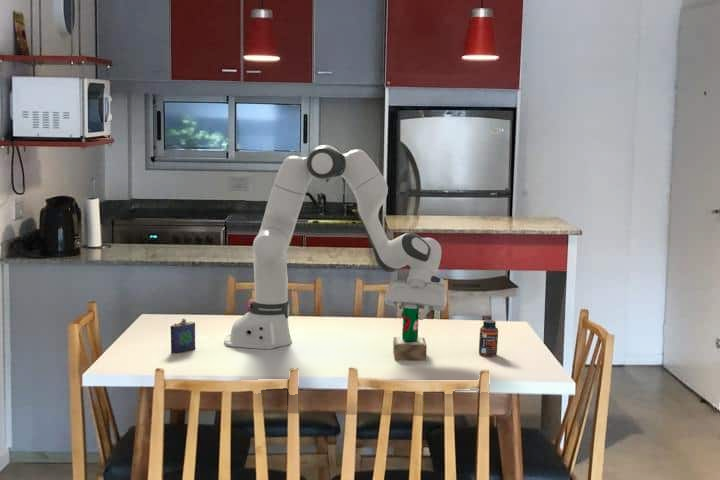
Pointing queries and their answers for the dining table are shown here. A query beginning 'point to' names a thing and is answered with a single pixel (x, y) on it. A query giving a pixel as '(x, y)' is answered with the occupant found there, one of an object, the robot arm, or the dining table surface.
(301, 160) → the robot arm
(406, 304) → the soda can
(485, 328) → the supplement bottle
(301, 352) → the dining table surface
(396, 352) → the base block
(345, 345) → the dining table surface
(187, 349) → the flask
